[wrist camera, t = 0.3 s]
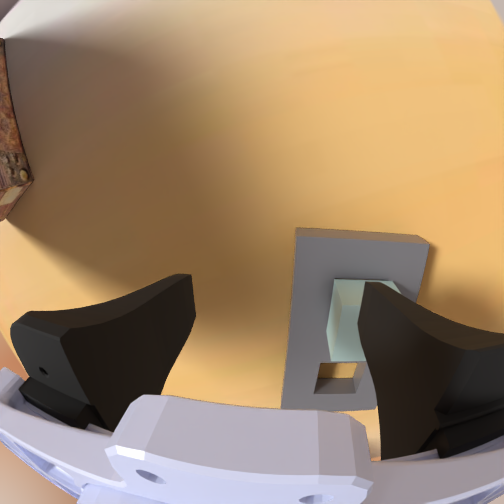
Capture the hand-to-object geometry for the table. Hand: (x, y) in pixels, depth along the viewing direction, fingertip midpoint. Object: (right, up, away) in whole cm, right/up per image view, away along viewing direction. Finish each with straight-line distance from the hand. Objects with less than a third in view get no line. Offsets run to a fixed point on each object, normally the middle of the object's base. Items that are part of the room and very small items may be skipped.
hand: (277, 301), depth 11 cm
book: (-33, +19, +9) cm, 39 cm away
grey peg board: (+7, -5, +12) cm, 14 cm away
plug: (+7, -1, +10) cm, 13 cm away
